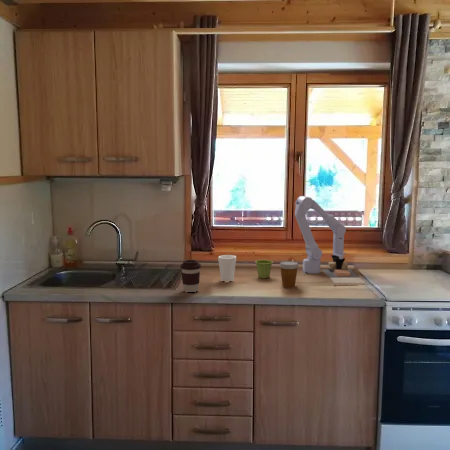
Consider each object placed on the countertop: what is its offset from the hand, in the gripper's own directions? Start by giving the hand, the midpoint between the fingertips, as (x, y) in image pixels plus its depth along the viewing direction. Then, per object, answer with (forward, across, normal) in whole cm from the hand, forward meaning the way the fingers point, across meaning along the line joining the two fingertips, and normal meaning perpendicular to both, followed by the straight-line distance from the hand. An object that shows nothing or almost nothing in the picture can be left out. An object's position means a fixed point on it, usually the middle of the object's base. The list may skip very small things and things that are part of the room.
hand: (337, 269), depth 263 cm
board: (+2, -12, 0) cm, 12 cm away
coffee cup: (+3, -34, +80) cm, 87 cm away
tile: (+1, -10, 0) cm, 10 cm away
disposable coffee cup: (+3, -26, +31) cm, 40 cm away
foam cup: (+3, -14, +62) cm, 64 cm away
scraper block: (+1, 0, 0) cm, 1 cm away
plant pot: (+3, -8, +42) cm, 43 cm away
